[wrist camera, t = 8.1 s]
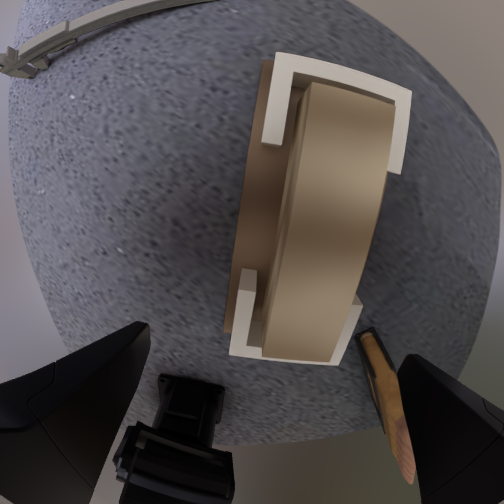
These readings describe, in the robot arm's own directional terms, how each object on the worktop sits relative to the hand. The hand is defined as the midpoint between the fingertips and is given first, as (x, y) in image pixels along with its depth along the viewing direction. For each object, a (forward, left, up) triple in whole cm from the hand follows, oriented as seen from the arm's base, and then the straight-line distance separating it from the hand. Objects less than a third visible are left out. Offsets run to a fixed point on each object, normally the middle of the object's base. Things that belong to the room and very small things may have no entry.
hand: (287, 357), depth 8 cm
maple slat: (+2, -2, -10) cm, 11 cm away
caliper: (+16, +14, -12) cm, 24 cm away
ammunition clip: (-11, -12, -11) cm, 19 cm away
